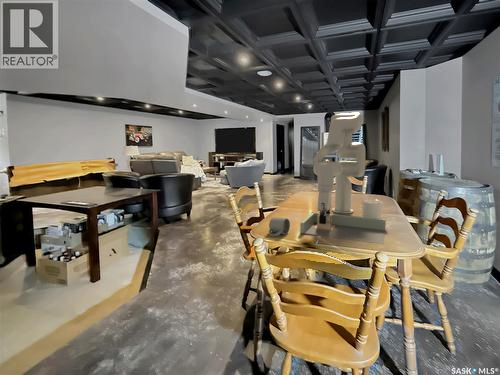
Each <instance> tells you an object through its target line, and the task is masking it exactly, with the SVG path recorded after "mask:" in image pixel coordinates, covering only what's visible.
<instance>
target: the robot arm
mask: <svg viewBox="0 0 500 375" xmlns="http://www.w3.org/2000/svg"><path fill="white" fill-rule="evenodd" d="M363 122H364V116H363V114H362V113H360V112H351V113H348V112H346V113H337V114H334V115H331V117H330V124H329V129H328V135H327V140H326V143H325V144H324V145H323V146H322V147H321V148H320V149H319V150H318V151H317V153H316V154H315V157H314V162H313V167H312V168H313V169H312V170H313V173H314V174H315V175H316V176H317V192H318V197H317V211H318V212H319V213H320V214H319V223H320V224H326V214H331V211H332V212H334V213H337V214H343V215H344V214H345V215H346V214H352V213H354V209H352V188H353V187H352V181H351V180H350V178H361V177H363V176H365V173H366V145H365V144H364V143H363V142H353V134H356V133H357V132H358V131H359V130H360V129H361V127H362V125H363ZM333 152H336V154H337V157H338V158H339V159H341V160H340V161H327V160H326V161H324V160H323V159H324V158H325V157H326V156H327V155H329V154H332V153H333ZM342 159H345V160H342ZM353 160H354V161H353ZM334 179H335V180H334ZM334 183H335V185H334ZM334 186H335V187H334ZM334 189H335V190H334ZM334 191H335V192H334ZM332 192H334V207H332ZM331 207H332V209H331Z"/></svg>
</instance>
